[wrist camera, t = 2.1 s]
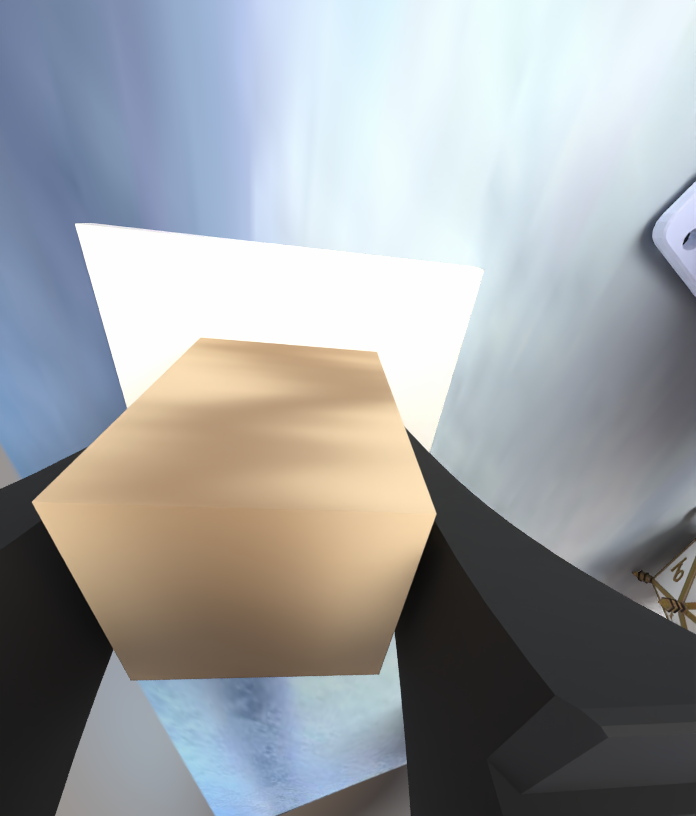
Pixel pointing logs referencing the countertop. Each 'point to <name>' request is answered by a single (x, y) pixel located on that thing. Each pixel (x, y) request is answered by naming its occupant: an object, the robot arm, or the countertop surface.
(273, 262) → the tile
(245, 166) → the countertop surface
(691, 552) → the game die
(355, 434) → the oak cube
